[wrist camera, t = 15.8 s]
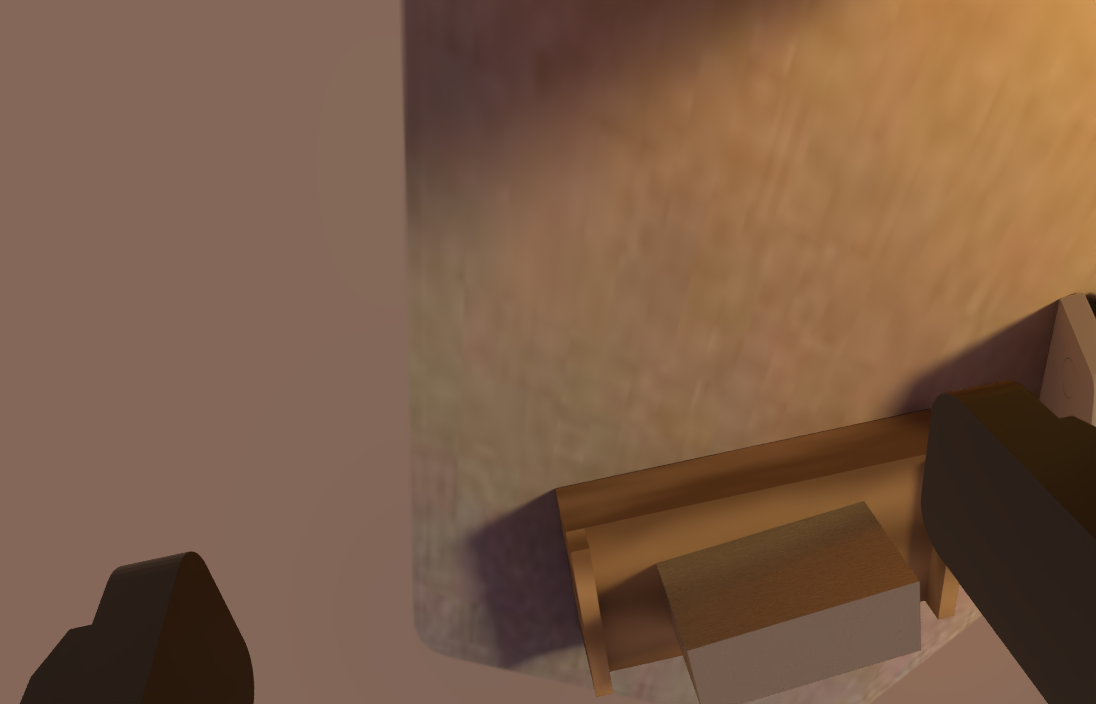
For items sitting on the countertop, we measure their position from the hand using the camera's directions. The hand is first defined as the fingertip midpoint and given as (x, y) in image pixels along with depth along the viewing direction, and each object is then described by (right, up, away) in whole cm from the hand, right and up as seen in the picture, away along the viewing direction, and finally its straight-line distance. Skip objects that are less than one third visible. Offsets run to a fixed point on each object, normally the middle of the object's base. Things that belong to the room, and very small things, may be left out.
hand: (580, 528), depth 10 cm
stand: (+12, -8, +43) cm, 46 cm away
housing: (+12, -10, +40) cm, 43 cm away
